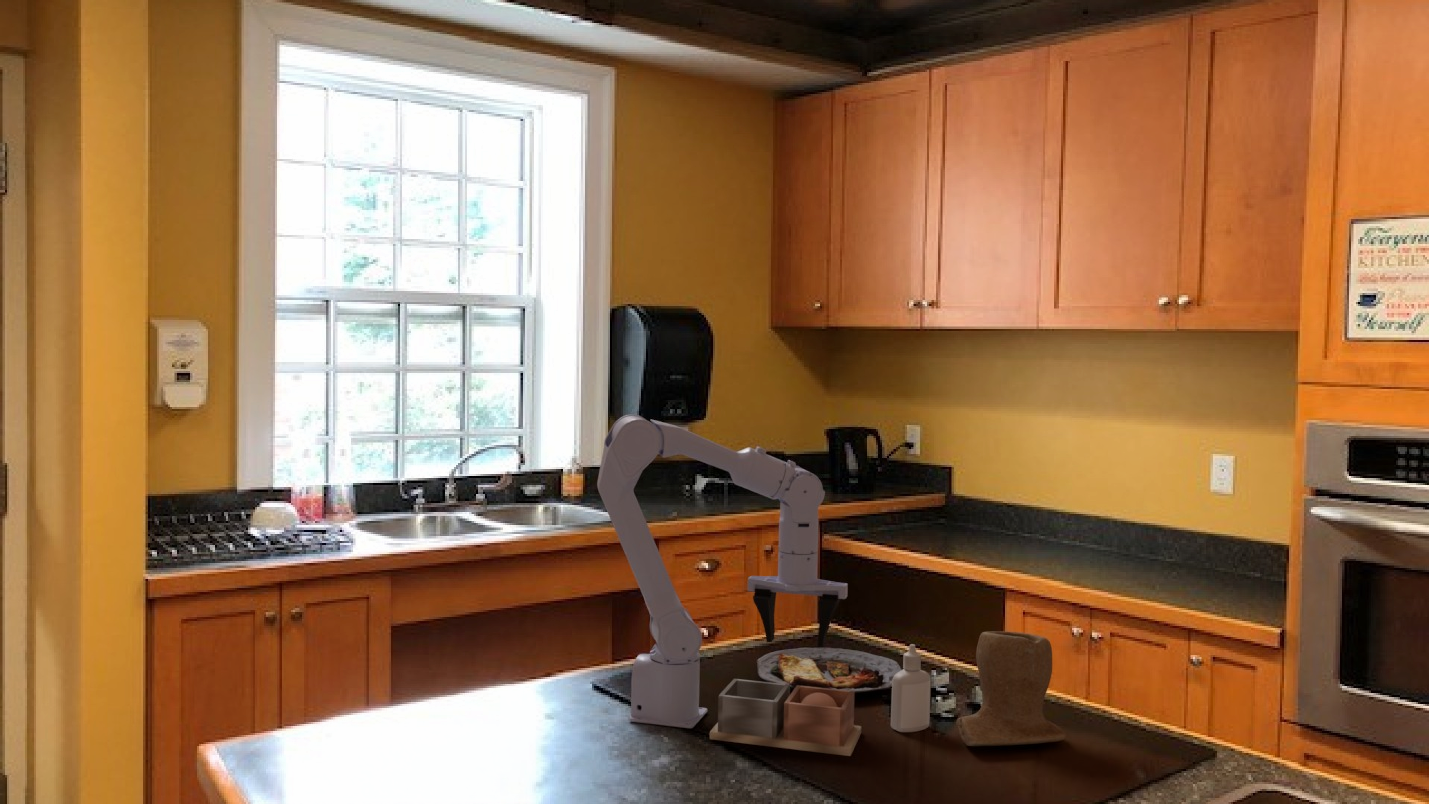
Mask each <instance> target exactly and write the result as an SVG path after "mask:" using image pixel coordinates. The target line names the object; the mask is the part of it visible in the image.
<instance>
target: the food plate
mask: <svg viewBox="0 0 1429 804" xmlns="http://www.w3.org/2000/svg"><path fill="white" fill-rule="evenodd" d="M756 663H757V664H756V665H757V675H758V676H759V678H760V679H762V680H763V681H764V682H771V683H780V684H790V690H794V689H795V687H796V686H797V685H799V686H809V687H818V688H828V689H837V690H847V691H855V694H862V693H868V692H874V691H886V690H888V689H892V688H891V687H892V680H893V677H894V675H895V674H896V673H898V672H899V671H901V670H902V668H901V666H900V665H899V663H898V662H897V660H896V661H895V660H894V659H892V658H891V659H890V658H889V657H885V656H880V655H876V654H872V653H869V652H865V651H860V650H852V649H844V648H840V647H837V648H835V647H833V648H832V647H799V648H791V649H783V650H776V651H773V652H769V653H766V654H764V655H763V656H761V657H760V658H758V659H757V660H756ZM817 665H825V666H826V670H823V672H822V671H821V669H820V668H818V666H817ZM851 668H854V669H855V670H856V669H859V670H860V671H859V672H857V671H853V670H852V671H851V672H850V669H851Z"/></svg>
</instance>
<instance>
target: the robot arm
mask: <svg viewBox="0 0 1429 804" xmlns="http://www.w3.org/2000/svg"><path fill="white" fill-rule="evenodd" d="M603 441H604V442H603V452H602V456H601V462H600V466H599V472H598V477H597V482H596V485H597V486H596V487H597V490H598V493H599V495H600V497H601V500H602V503H603V504H604V507H605V510H606V512H607V514H608V516H609V519H610V522H611V523H612V526H613V528H614V531H615V533H616V535H617V538H618V540H619V543H620V545H621V548H622V549H623V552H624V554H625V557H626V559H627V562H628V564H629V566H630V568H631V571H632V574H633V575H634V578H635V581H636V582H637V585H638V587H639V589H640V592H641V595H642V596H643V599H644V602H645V606H646V608H647V610H648V612H649V617H650V619H649V620H650V621H649V631H650V634H651V636H652V638H653V639H654V640H655V643H654V645H653V647H652V648H651V650H650V651H649V653H639V654H638V655H637V657H636V658H635V659H634V662H633V665H632V670H631V685H630V687H631V689H630V692H631V693H630V694H631V697H630V698H631V699H630V702H631V703H630V716H629V718H628V720H629V722H632V723H634V722H635V723H641V724H650V725H659V726H665V727H666V726H667V727H675V728H683V729H684V728H685V729H693V728H694V727H695V726H696V725H697V724H698V723H699V722H700V720H701V719H702V718H703V717H704V716H705V715H706V714H707V712H708V708H707V707H699V706H700V670H701V669H700V667H701V666H700V661H701V653H700V652H699V651H700V650H701V647H702V645H703V643H702V642H703V635H702V631H701V629H700V628H699V626H698V625H697V624H696V622H694V620H693V619H692V616H691V614H690V612H689V611H688V609H687V608H685V607H684V606H683V604H682V602H681V600H680V597H679V596H678V594H677V591H676V590H675V588H674V584H673V583H672V580H671V578H670V575H669V573H668V571H667V569H666V566H665V564H664V561H663V557H662V556H661V553H660V552H659V549H658V547H657V545H656V542H655V539H654V536H653V535H652V532H651V530H650V528H649V525H648V523H647V520H646V518H645V516H644V513H643V511H642V508H641V506H640V504H639V501H638V499H637V497H636V494H635V492H634V489H635V487H636V485H637V483H638V481H639V479H640V477H641V474H643V471H644V470H645V469H646V468H647V467H648V466H649V464H651V463H652V462H653V461H654V460H655V458H657V456H658V455H659V456H661V457H662V458H663V459H664V458H669V457H673V456H677V455H683V456H686V457H688V458H690V459H693V460H695V461H699V462H702V463H703V464H704V463H705V464H707V465H709V466H712V467H715V468H718V469H720V470H722V471H725V472H728V473H729V474H730V478H731V480H732V482H733V484H734V485H735V486H738V487H742V488H744V489H747V491H748V490H749V491H751V492H754V493H757V494H759V495H761V496H764V497H766V498H768V499H771V500H779V502H780V503H779V504H780V505H779V506H780V508H779V513H780V514H779V521H778V523H779V524H778V554H777V555H778V556H777V557H778V561H777V565H778V566H777V576H769V575H767V576H766V575H765V576H763V575H751V576H749V577H748V578H747V590H746V591H747V592H753V593H754V595H753V596H752V599H753V603H754V605H755V606H756V607H755V608H757V611H758V614H759V616H760V618H761V622H762V625H763V629H764V633H765V638H766V639H765V641H766V643H772V642H773V641H774V639H775V632H776V630H775V629H776V627H775V610H776V609H775V608H776V598H777V593H779V594H789V595H790V594H792V595H793V594H794V595H804V596H815V597H816V596H817V597H821V598H820V599H819V600H818V603H817V604H818V621H819V623H818V625H819V626H818V634H817V635H818V636H817V648H821V647H823V648H825V647H824V646H825V645H826V643H827V642H826V640H827V635H828V631H829V627H830V624H831V621H832V619H833V616H834V614H835V612H836V610H837V607H838V605H839V603H840V601H841V600H846V599H847V597H848V590H849V589H848V585H849V584H848V583H846V582H838V581H837V582H836V581H831V580H825V579H820V578H818V559H819V558H818V555H819V552H818V551H819V522H820V521H819V507H820V506H821V505H822V503H823V501H824V500H825V499H824V498H825V495H826V491H825V490H824V488H823V483H822V481H821V480H820V479H819V477H818V476H817V475H816V474H814V473H812V472H811V471H808V470H806V469H804V468H802V467H800V466H799V465H796V462H795V461H793V460H790V459H788V460H787V462H786V461H785V460H781V459H779V458H777V457H774V456H772V455H770V454H767V449H765V448H763V447H761V446H756V448H755V449H754V448H753V447H750V446H749V447H746V448H743V449H741V450H738V451H737V450H733V449H730V448H728V447H726V446H724V445H721V444H719V443H718V442H717V443H716V442H714V441H712V440H710V439H707V438H706V437H703V436H700V435H698V434H696V433H695V432H691V431H690V430H687V429H685V428H682V427H681V426H677V425H675V424H671V423H668V422H662V421H660V420H656V419H655V420H654V419H650V421H649V420H647V419H646V418H644V417H643V416H641V415H637V414H626V415H623V416H621V417H619V419H617V420H616V421H615V422H614V423H613V425H612V426H611V428H610V429H609V431H608V433H607V435H606V437H605V438H604V440H603Z"/></svg>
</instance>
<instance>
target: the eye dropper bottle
mask: <svg viewBox="0 0 1429 804" xmlns="http://www.w3.org/2000/svg"><path fill="white" fill-rule="evenodd" d="M916 648H917V647H916V644H913V643H911V644H909V648H908V651H907V652H904V653H903V657H902V658H903V660H902V661H903V662H902V663H903V664H902V666H903V667H902V668H903V669H901V671H899V672H898V673H896V674H895V675H894V677H893V680H892V688H891V700H890V701H891V702H890V703H891V704H890V708H891V709H890V710H891V711H890V727H891V728H892V730H895V731H897V732H899V733H915V732H921V731H923V730H926V729H927V728H928V727H929V726H930V715H931V714H930V713H931V711H930V710H931V676H930V674H929V673H928V672H927V671H925V670H922V669H921V664H922V663H921V661H922V655H921V653H918V652H917V650H916Z"/></svg>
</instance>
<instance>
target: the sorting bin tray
mask: <svg viewBox="0 0 1429 804" xmlns="http://www.w3.org/2000/svg"><path fill="white" fill-rule="evenodd" d="M812 693H824V694H827V695H829V696H830V697H831V698H833V700H834V701H835V702H836V704H837V706H838V707H830V706H821V705H812V704H803V703H801V702H802V701H803V699H804V698H805V697H807V696H808V695H810V694H812ZM855 694H856V693H855V691H847V690H837V689H828V688H818V687H809V686H799V685H797V686H796V687H795V689H792V692H791V689H790V684H780V683H771V682H766V681H762V680H761V681H760V680H751V679H750V680H749V679H740V678H733V679H732V680H731V682H730V683H729V684H727V686H726V687H725V688H724V689H723V690H722V691H721V692H720V693H719V695H718V697H717V698H718V702H717V703H718V704H717V705H718V706H717V722H716V724H715V725H714V726H713V727H712V729H711V730H710V731H709V740H713V741H714V740H715V741H722V742H729V743H730V742H732V743H738V744H739V743H740V744H746V745H747V744H748V745H754V746H755V745H756V746H761V747H762V746H764V747H771V748H781V749H786V750H787V749H788V750H789V749H790V750H797V751H803V752H805V751H806V752H812V753H821V754H830V755H839V756H846V757H851V756H852V754H853V753H854V749H855V747H856V745H857V743H858V740H859V739H860V736H861V734H862V726H861V725H855V724H854V723H855Z"/></svg>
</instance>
